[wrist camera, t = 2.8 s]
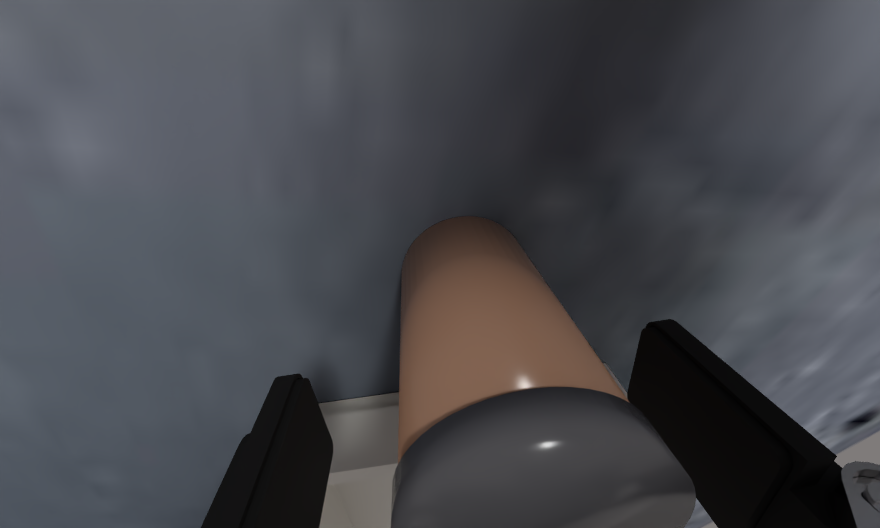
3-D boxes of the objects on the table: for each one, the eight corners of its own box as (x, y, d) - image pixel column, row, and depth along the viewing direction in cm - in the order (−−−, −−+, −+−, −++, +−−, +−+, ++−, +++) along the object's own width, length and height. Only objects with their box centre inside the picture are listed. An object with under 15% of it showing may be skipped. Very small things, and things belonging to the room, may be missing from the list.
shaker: (388, 222, 12) (359, 477, 4) (528, 205, 12) (740, 421, 5) (408, 332, 15) (412, 618, 7) (524, 316, 15) (657, 579, 7)
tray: (292, 407, 16) (266, 482, 13) (605, 363, 17) (650, 426, 14) (365, 564, 25) (360, 632, 22) (572, 532, 25) (594, 594, 22)
